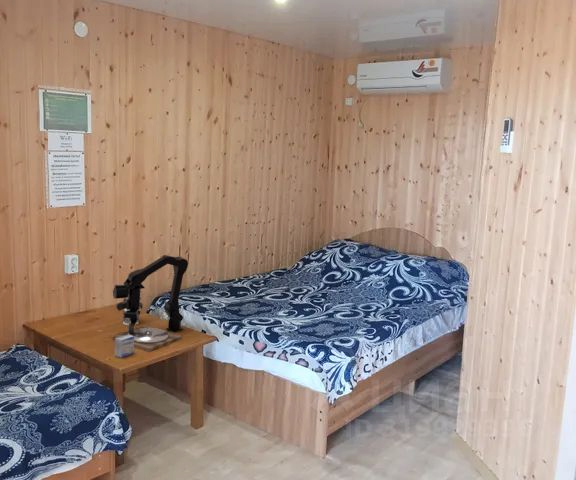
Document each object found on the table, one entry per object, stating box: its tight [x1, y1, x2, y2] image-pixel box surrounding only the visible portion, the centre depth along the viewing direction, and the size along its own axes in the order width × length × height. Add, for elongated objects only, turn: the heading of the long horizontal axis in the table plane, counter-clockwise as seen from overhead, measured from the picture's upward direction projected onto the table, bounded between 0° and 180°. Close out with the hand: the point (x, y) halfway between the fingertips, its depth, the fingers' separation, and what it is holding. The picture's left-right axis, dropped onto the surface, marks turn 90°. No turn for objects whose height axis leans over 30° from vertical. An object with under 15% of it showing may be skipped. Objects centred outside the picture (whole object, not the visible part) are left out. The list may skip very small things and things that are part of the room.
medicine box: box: [114, 335, 135, 359], centre depth 267 cm, size 8×4×9 cm, turn 148°
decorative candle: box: [122, 278, 142, 326], centre depth 309 cm, size 9×9×25 cm
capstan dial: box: [128, 323, 168, 343], centre depth 289 cm, size 20×20×6 cm
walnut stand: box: [112, 325, 183, 353], centre depth 289 cm, size 24×24×2 cm
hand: (133, 326), depth 293 cm, fingers closed
